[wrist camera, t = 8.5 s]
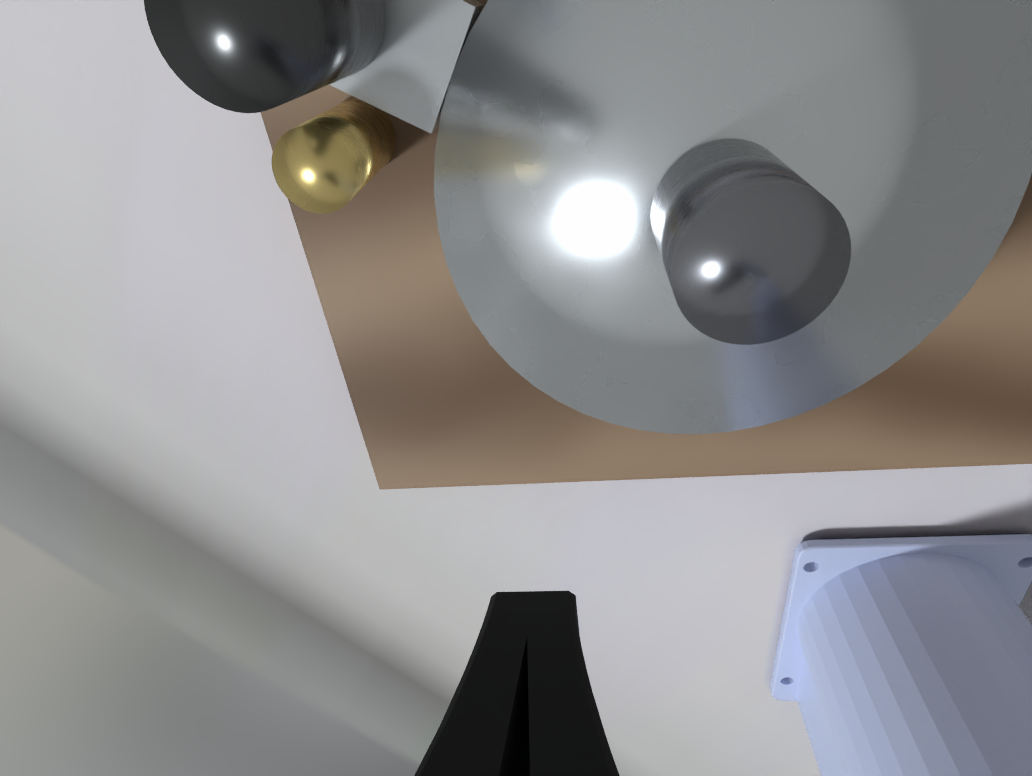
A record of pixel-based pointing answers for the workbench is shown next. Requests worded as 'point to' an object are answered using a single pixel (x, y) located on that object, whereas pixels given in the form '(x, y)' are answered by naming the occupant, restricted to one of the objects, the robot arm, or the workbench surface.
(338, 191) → the dowel
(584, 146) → the crank
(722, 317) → the post
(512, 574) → the workbench surface
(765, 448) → the base board
